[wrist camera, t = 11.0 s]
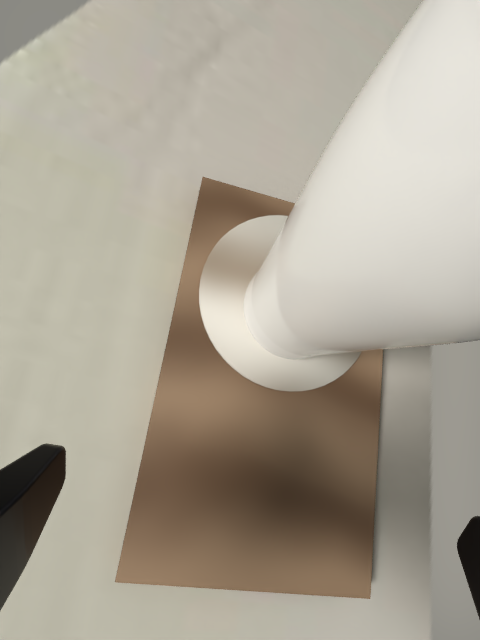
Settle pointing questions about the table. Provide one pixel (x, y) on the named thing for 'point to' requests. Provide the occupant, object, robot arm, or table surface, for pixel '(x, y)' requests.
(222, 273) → the walnut board
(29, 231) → the table surface
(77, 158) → the table surface
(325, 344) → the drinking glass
